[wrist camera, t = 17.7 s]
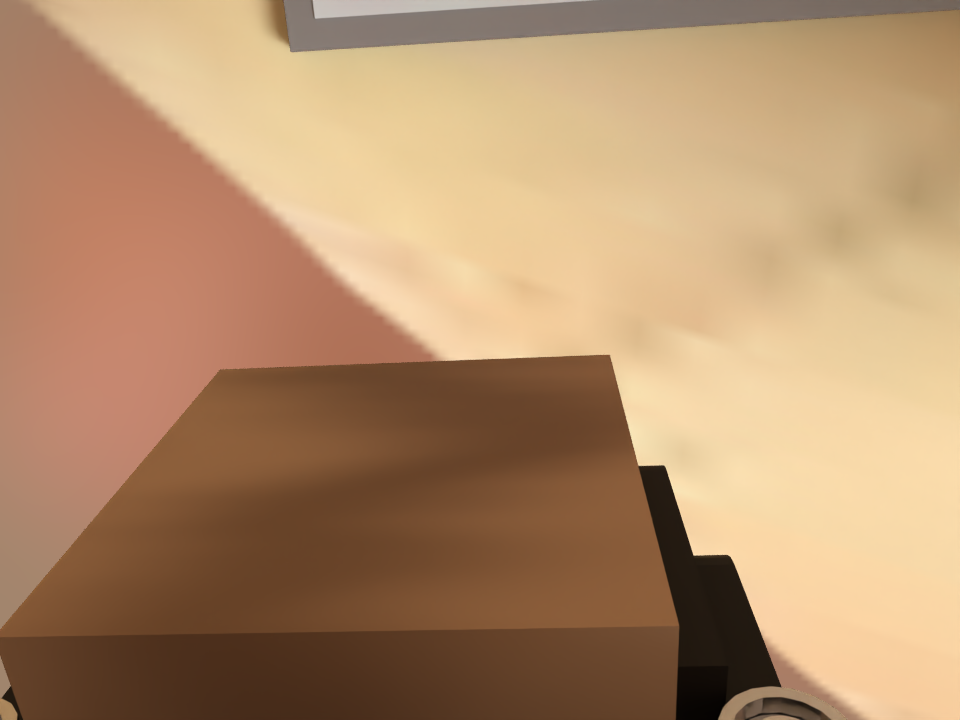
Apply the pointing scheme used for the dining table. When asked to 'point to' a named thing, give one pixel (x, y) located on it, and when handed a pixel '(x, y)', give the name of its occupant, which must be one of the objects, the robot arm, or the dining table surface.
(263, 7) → the dining table surface
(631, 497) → the walnut cube
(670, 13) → the blueprint board
